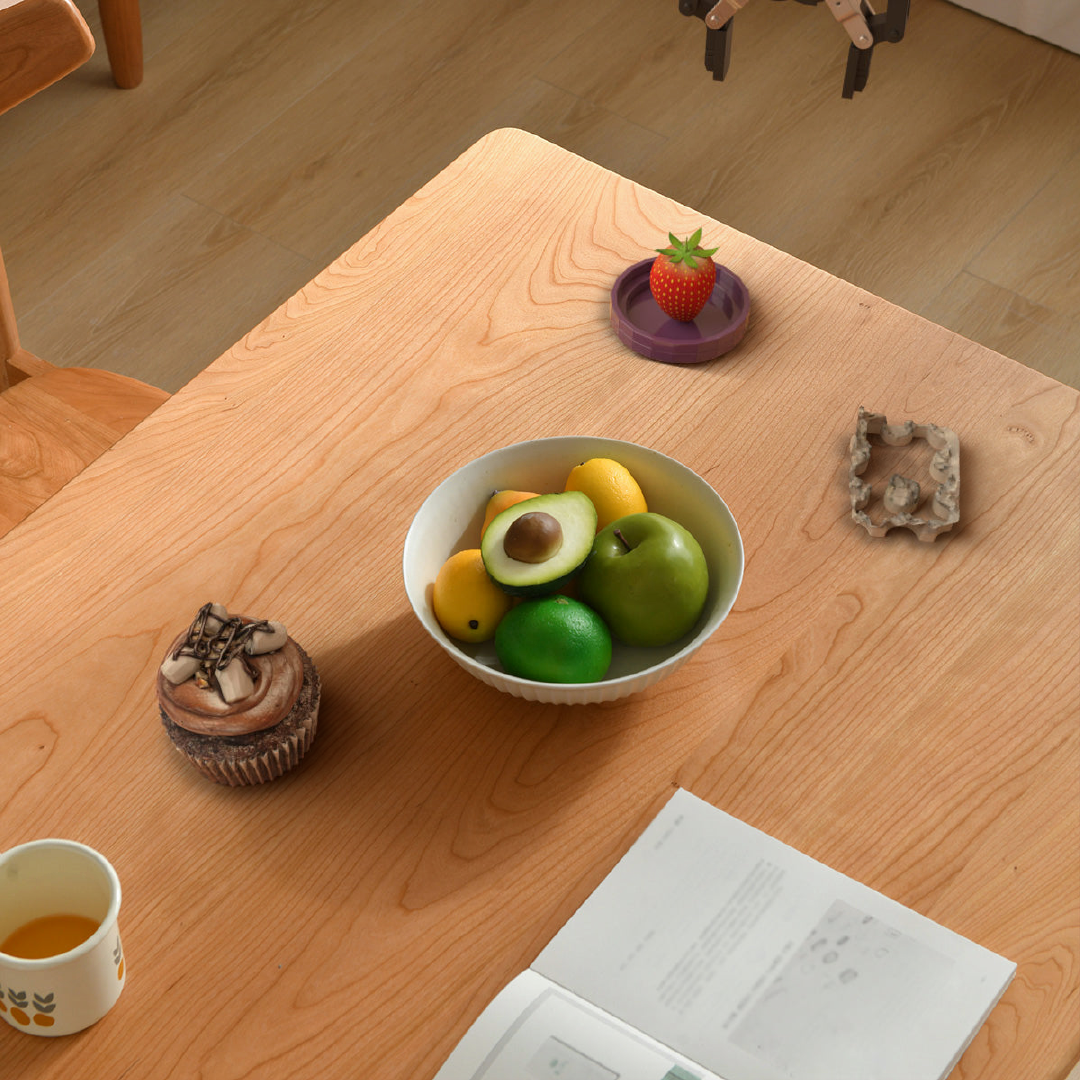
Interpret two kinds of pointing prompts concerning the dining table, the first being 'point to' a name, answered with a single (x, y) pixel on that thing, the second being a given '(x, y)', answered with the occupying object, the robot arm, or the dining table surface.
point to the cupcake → (238, 697)
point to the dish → (670, 338)
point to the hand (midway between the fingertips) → (783, 84)
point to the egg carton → (903, 490)
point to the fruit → (683, 277)
